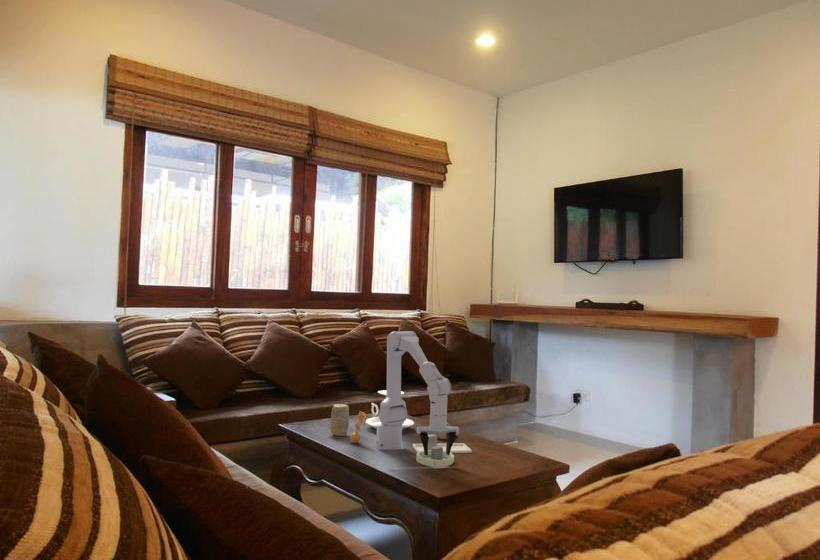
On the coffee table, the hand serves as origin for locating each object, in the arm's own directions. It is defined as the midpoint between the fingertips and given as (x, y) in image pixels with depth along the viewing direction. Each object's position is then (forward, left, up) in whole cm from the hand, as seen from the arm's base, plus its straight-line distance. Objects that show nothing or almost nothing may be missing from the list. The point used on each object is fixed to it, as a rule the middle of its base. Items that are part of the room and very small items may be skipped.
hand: (436, 454), depth 195 cm
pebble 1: (+2, +16, -3) cm, 17 cm away
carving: (-30, +41, -4) cm, 51 cm away
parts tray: (+6, +16, -3) cm, 18 cm away
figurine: (-24, +29, -4) cm, 38 cm away
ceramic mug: (+12, +35, -4) cm, 37 cm away
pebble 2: (0, 0, -3) cm, 3 cm away
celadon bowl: (0, +2, -3) cm, 4 cm away
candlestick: (-9, +52, -4) cm, 53 cm away
